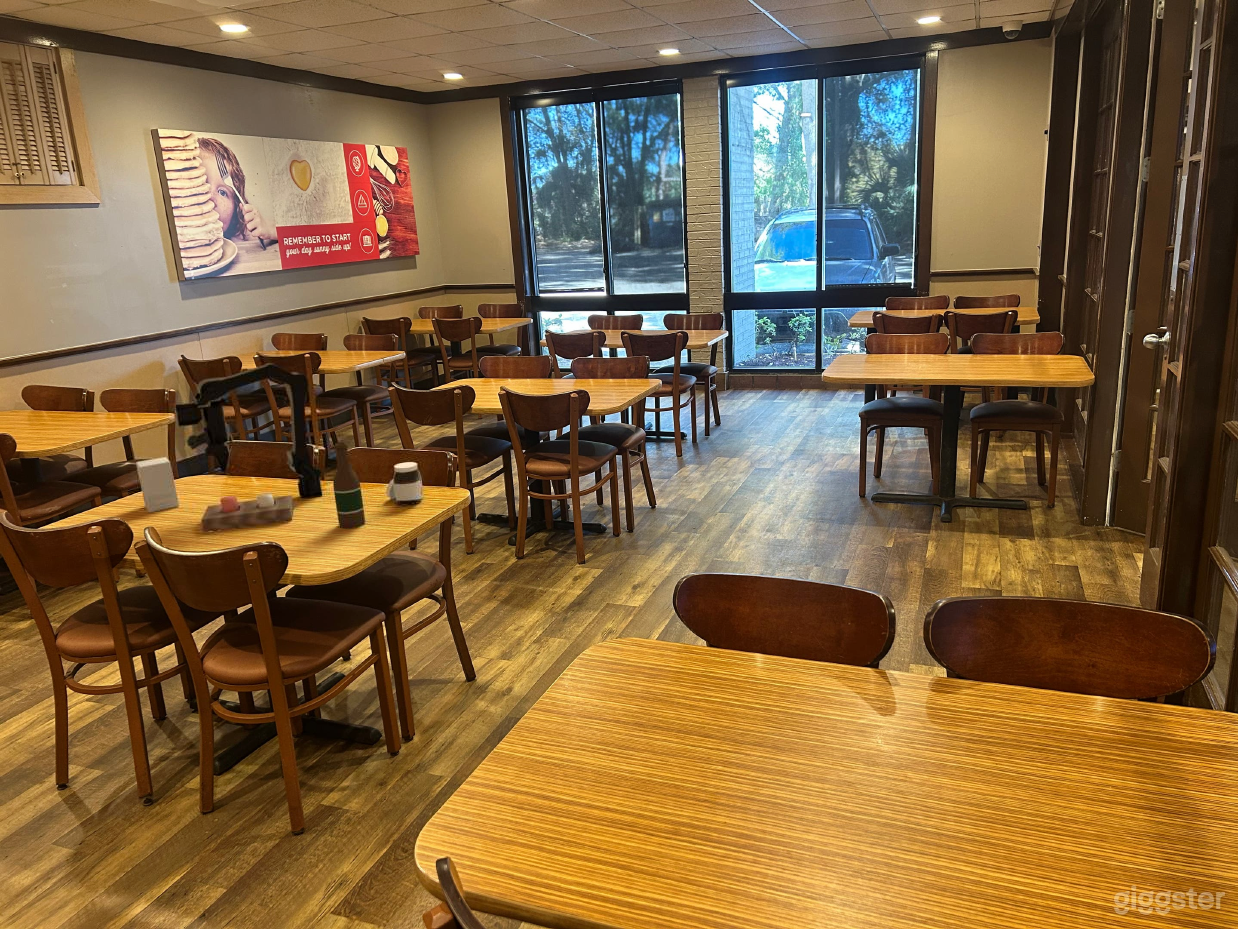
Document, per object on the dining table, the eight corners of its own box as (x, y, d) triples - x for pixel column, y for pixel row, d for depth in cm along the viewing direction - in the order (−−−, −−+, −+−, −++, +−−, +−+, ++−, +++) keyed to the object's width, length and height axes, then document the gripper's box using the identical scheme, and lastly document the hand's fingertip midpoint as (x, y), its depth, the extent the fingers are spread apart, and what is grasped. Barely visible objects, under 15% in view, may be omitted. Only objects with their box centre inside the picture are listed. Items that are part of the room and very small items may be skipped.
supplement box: (175, 500, 289) (166, 456, 285) (179, 506, 282) (171, 461, 278) (144, 506, 284) (135, 461, 281) (148, 512, 277) (138, 466, 273)
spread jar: (418, 505, 269) (414, 468, 265) (381, 507, 269) (376, 470, 266) (427, 494, 280) (423, 458, 277) (392, 496, 280) (387, 460, 277)
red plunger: (240, 514, 265) (237, 495, 264) (238, 518, 261) (235, 499, 259) (224, 516, 264) (221, 497, 262) (222, 520, 260) (219, 501, 258)
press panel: (294, 507, 274) (292, 495, 273) (291, 520, 261) (289, 507, 260) (210, 518, 267) (207, 506, 266) (203, 532, 254) (201, 519, 253)
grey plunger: (276, 511, 268) (273, 492, 266) (275, 516, 264) (272, 496, 262) (260, 513, 267) (257, 494, 265) (259, 518, 263) (256, 498, 261)
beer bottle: (361, 528, 250) (350, 446, 244) (334, 529, 251) (322, 447, 245) (369, 519, 258) (358, 439, 252) (343, 520, 258) (331, 440, 252)
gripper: (189, 419, 272) (198, 468, 276) (181, 431, 255) (191, 483, 259) (228, 414, 276) (237, 463, 280) (223, 426, 258) (232, 477, 263)
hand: (224, 471), depth 270 cm, fingers closed
